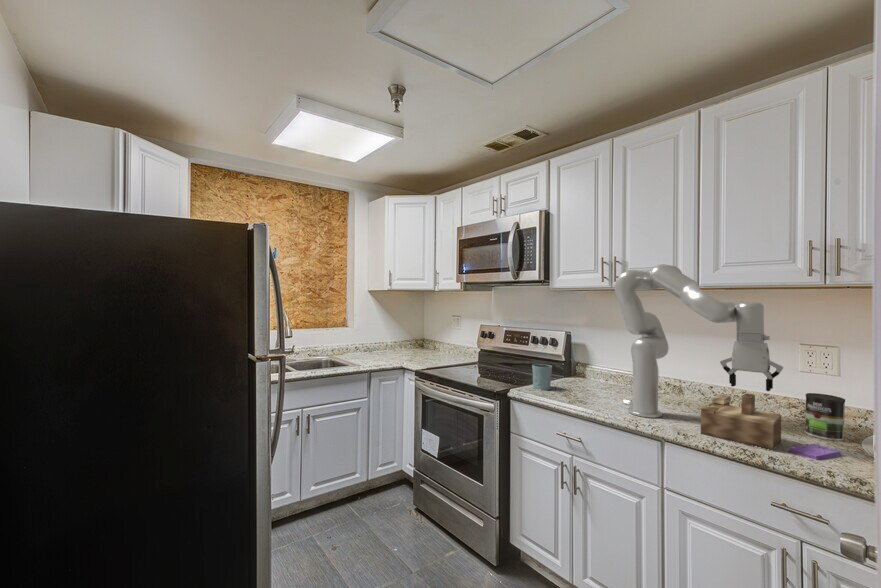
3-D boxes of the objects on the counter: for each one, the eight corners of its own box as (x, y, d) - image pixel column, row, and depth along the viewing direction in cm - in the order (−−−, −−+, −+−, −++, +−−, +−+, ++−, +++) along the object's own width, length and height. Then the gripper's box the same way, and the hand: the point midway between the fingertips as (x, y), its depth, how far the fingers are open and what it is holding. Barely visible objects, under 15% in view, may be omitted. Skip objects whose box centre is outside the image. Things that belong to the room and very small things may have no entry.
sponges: (841, 457, 126) (841, 451, 126) (815, 461, 121) (816, 455, 121) (814, 448, 132) (814, 443, 132) (789, 453, 128) (789, 447, 128)
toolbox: (700, 433, 143) (701, 408, 143) (716, 423, 156) (717, 399, 156) (772, 450, 128) (773, 422, 128) (783, 437, 141) (784, 411, 141)
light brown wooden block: (712, 402, 150) (712, 397, 150) (718, 399, 156) (719, 394, 156) (723, 404, 148) (723, 399, 148) (729, 401, 153) (729, 396, 153)
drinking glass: (530, 389, 206) (531, 366, 206) (532, 385, 216) (532, 363, 216) (551, 391, 203) (552, 367, 203) (552, 387, 213) (552, 364, 213)
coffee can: (835, 442, 137) (836, 401, 137) (798, 433, 146) (799, 394, 147) (850, 439, 141) (851, 398, 141) (813, 429, 151) (814, 392, 151)
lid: (704, 411, 142) (704, 392, 142) (715, 405, 152) (716, 386, 152) (773, 425, 128) (773, 403, 128) (781, 417, 137) (781, 397, 137)
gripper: (784, 339, 135) (785, 391, 134) (723, 336, 148) (723, 383, 147) (780, 340, 130) (781, 394, 129) (717, 337, 143) (717, 385, 142)
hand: (750, 388), depth 138 cm, fingers open, 9 cm apart
